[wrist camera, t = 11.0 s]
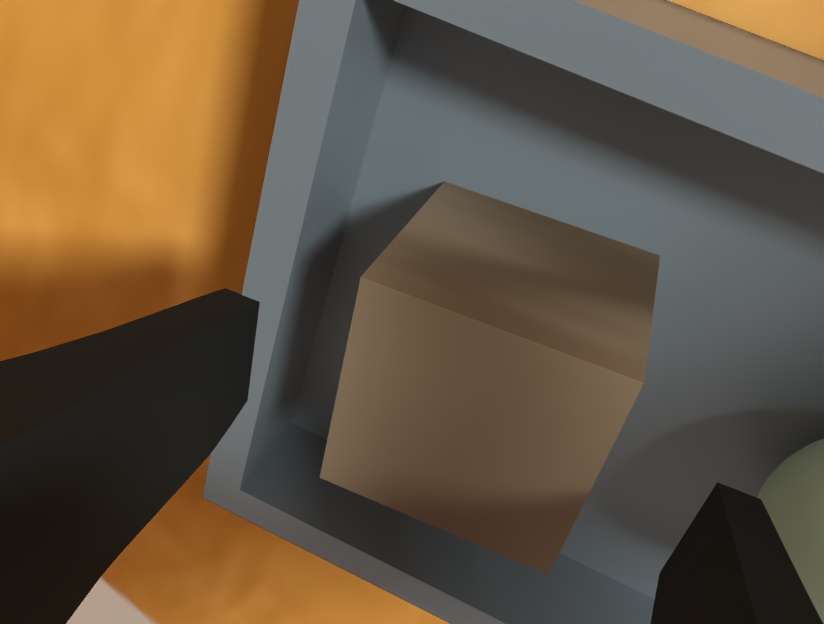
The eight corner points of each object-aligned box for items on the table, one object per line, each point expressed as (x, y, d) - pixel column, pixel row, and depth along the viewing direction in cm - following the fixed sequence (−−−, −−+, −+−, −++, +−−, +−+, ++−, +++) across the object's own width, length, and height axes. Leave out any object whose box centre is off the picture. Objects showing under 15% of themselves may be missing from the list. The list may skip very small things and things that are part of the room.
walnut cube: (660, 255, 13) (644, 382, 10) (582, 424, 15) (548, 574, 12) (444, 181, 14) (360, 277, 10) (400, 353, 16) (319, 477, 12)
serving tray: (1454, 302, 10) (1691, 435, 8) (892, 720, 17) (923, 863, 14) (397, -104, 12) (318, -100, 10) (267, 417, 19) (201, 497, 16)
